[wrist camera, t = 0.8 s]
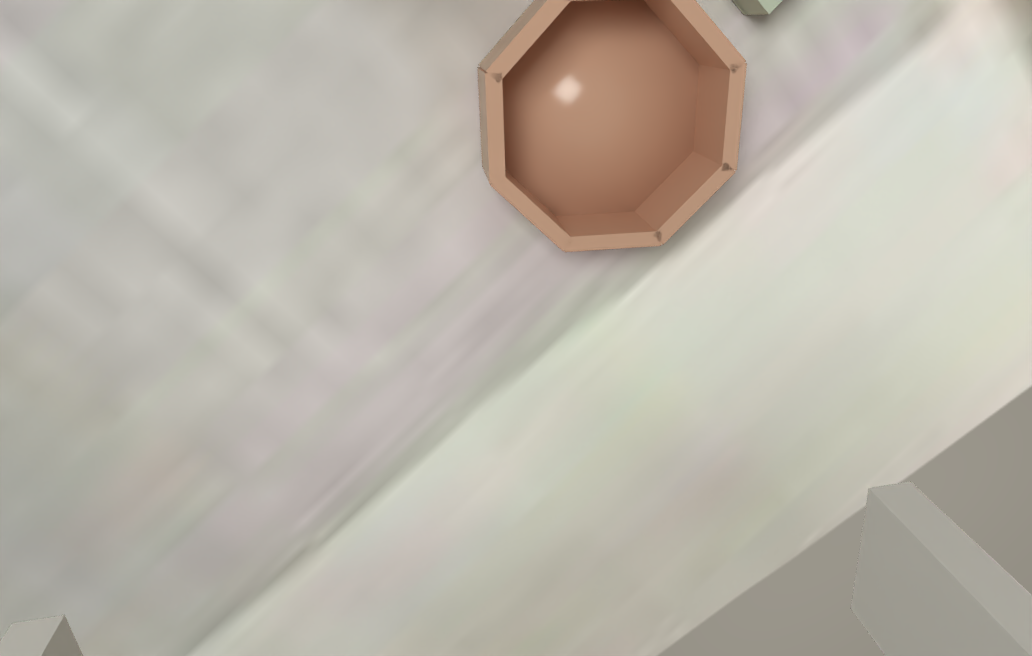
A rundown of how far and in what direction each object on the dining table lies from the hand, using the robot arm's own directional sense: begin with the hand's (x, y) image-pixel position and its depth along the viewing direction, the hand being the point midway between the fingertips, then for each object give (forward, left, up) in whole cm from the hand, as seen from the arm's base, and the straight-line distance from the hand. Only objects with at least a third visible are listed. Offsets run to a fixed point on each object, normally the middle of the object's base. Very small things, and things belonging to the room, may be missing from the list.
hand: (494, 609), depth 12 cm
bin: (+2, +9, -26) cm, 28 cm away
